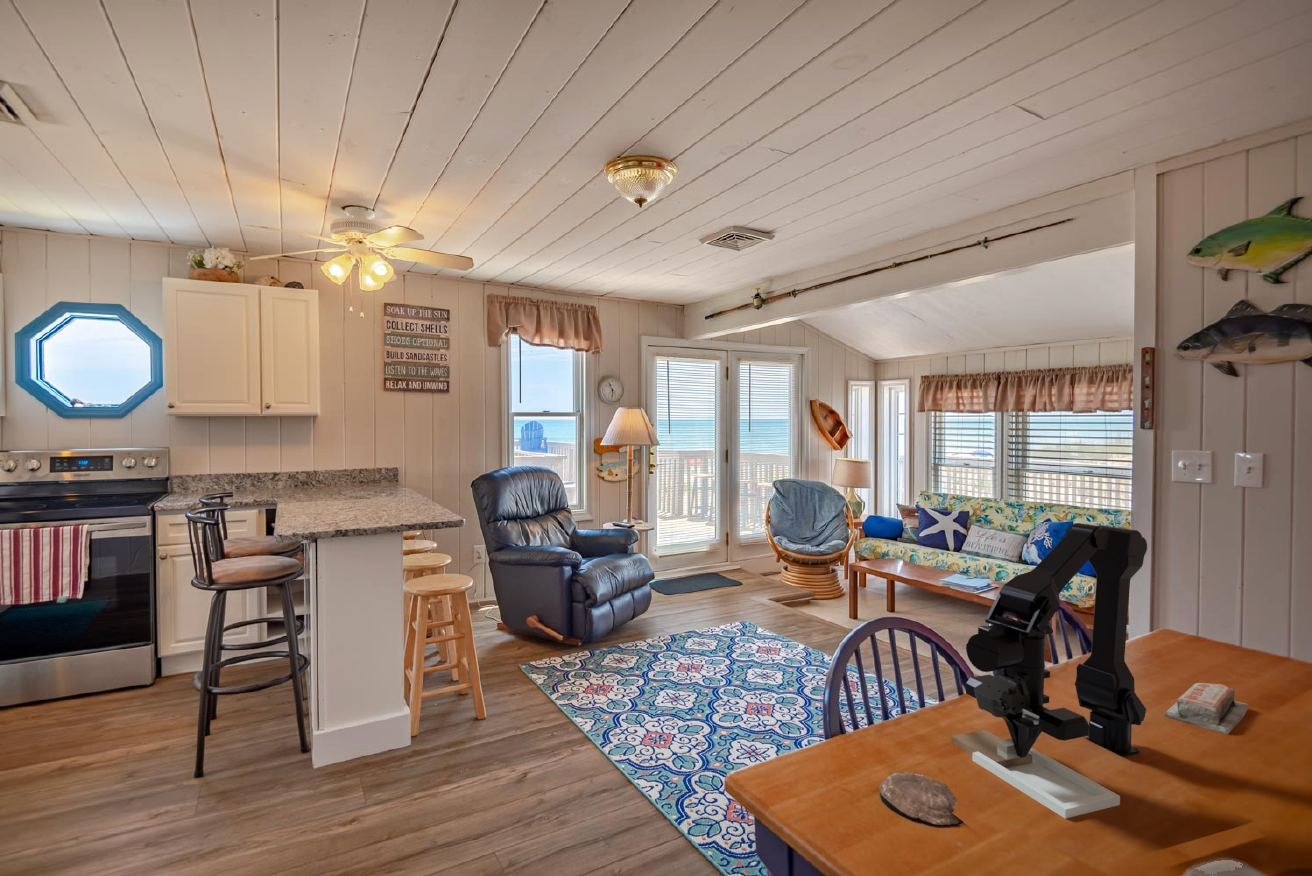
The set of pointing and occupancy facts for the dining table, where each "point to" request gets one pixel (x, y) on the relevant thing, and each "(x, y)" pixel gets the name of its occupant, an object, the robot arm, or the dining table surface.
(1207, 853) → the dining table surface
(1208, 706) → the packaged product
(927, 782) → the shell
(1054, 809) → the open box
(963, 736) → the cover plate
